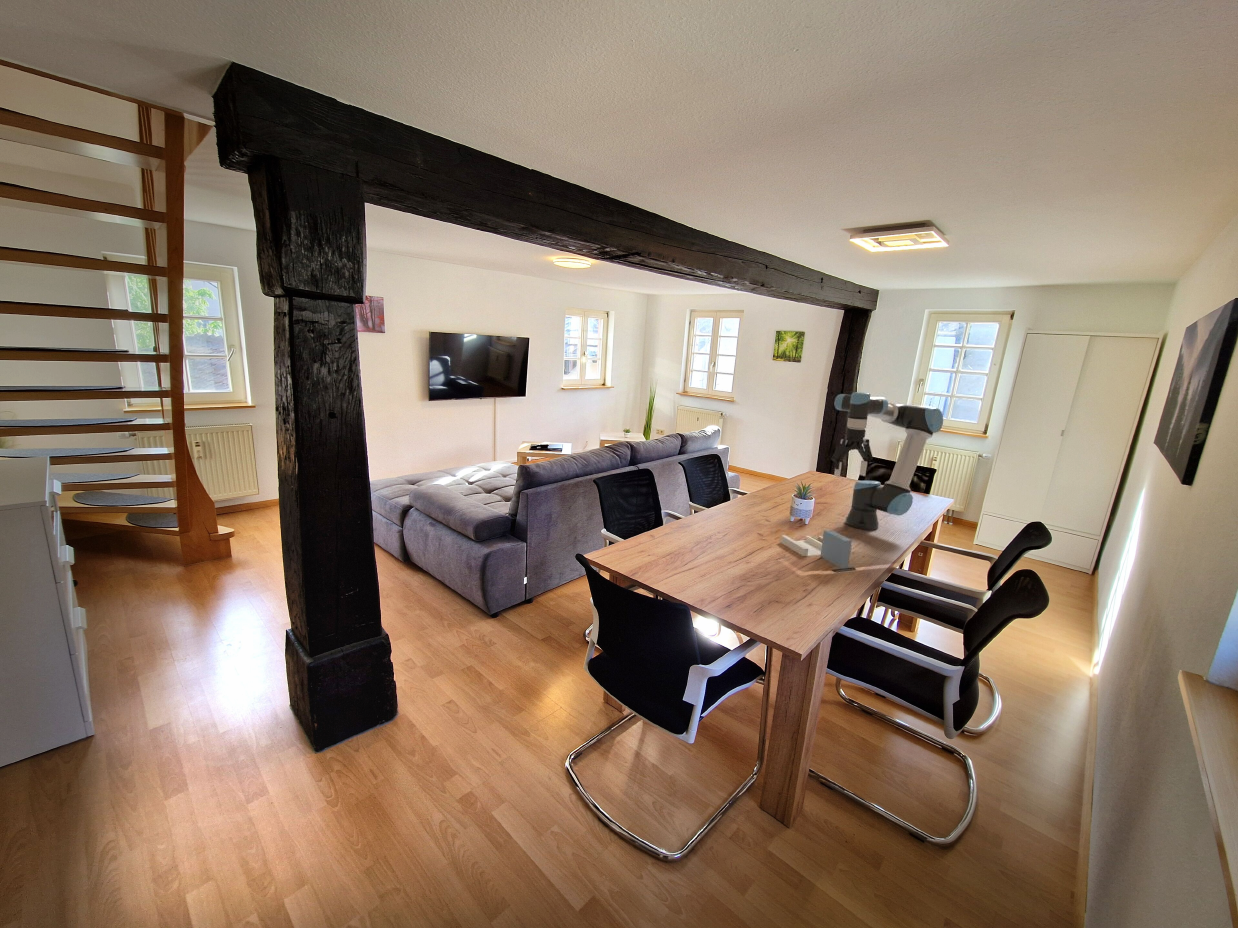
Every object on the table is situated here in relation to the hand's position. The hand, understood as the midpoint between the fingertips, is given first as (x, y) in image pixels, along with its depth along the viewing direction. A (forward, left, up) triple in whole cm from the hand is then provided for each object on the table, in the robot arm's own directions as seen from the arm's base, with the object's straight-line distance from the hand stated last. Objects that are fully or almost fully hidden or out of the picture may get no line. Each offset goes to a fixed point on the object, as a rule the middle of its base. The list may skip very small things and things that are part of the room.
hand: (849, 475), depth 216 cm
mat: (+20, +20, -32) cm, 42 cm away
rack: (+17, +4, -32) cm, 36 cm away
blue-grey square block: (+20, +20, -31) cm, 42 cm away
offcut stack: (+10, +4, -30) cm, 33 cm away
